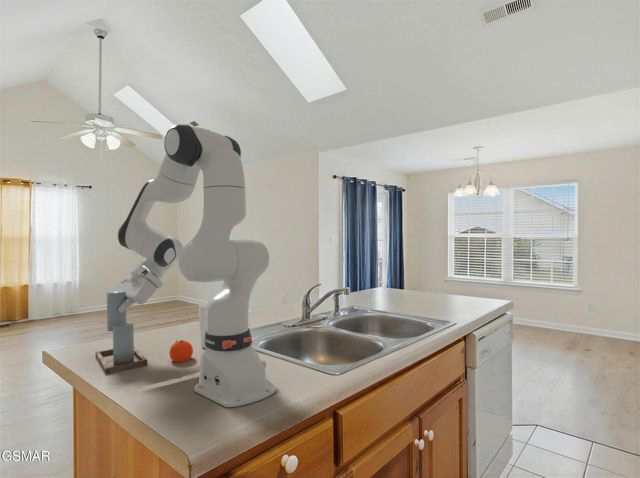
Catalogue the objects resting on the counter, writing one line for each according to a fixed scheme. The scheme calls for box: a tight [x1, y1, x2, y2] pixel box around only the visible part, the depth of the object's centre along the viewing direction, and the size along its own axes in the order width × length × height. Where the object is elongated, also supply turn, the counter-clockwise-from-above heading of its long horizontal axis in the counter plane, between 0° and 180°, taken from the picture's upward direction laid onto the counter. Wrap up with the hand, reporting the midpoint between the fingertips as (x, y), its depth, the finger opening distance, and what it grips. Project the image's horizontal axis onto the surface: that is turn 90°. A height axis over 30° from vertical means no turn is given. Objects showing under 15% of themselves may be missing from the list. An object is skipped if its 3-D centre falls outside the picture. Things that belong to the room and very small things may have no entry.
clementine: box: [169, 339, 194, 363], centre depth 114 cm, size 8×7×7 cm
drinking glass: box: [198, 303, 208, 349], centre depth 130 cm, size 7×7×15 cm
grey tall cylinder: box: [112, 322, 135, 366], centre depth 110 cm, size 6×6×12 cm
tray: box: [95, 346, 148, 375], centre depth 114 cm, size 19×11×2 cm, turn 39°
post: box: [106, 290, 128, 332], centre depth 117 cm, size 6×6×12 cm
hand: (114, 309), depth 116 cm, fingers closed on post, 5 cm apart
